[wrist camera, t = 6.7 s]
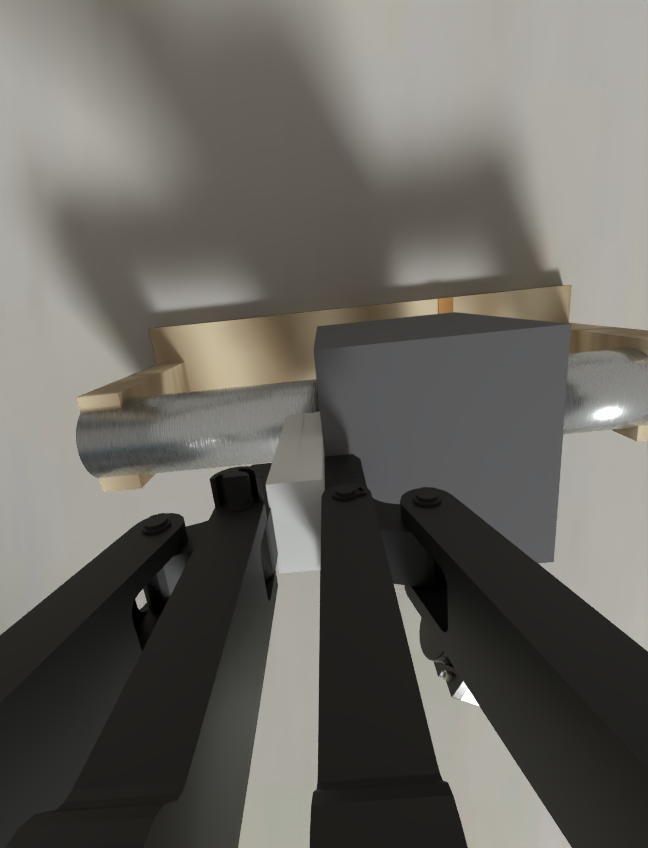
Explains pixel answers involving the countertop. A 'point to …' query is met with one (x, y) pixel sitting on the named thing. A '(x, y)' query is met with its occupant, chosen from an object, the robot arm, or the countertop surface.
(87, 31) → the countertop surface
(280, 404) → the pipe
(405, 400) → the collar
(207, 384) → the pipe rig
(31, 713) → the robot arm
